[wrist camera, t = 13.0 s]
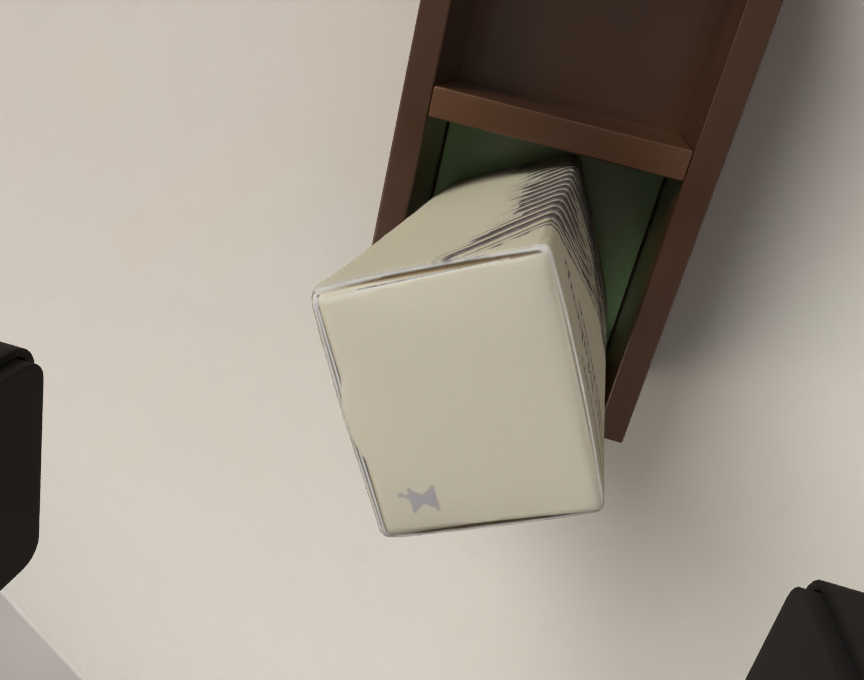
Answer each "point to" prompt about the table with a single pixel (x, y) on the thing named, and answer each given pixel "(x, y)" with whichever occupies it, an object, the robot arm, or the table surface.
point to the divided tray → (587, 131)
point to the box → (476, 355)
